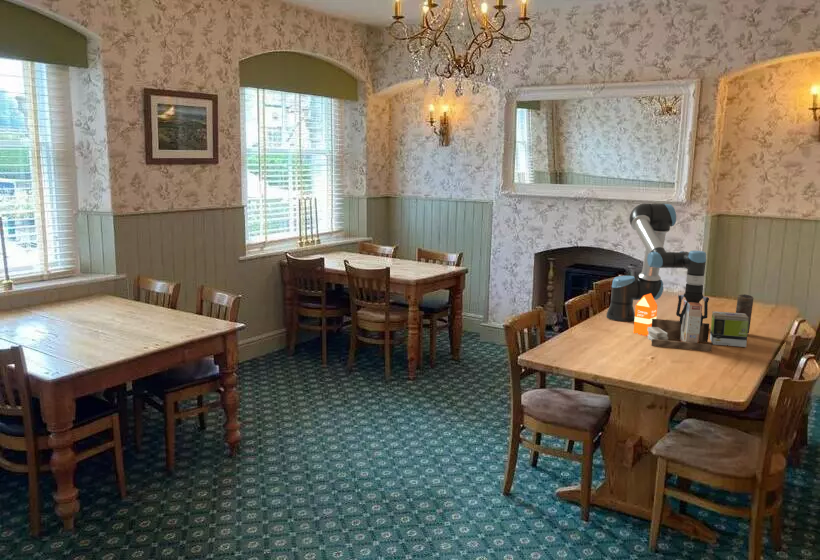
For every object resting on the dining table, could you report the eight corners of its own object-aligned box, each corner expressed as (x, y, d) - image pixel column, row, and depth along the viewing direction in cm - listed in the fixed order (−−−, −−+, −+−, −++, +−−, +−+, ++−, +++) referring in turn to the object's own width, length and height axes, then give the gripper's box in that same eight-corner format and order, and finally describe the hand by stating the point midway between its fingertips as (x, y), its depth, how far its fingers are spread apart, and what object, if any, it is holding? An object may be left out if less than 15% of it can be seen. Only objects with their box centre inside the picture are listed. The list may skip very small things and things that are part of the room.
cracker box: (698, 348, 313) (703, 305, 309) (685, 348, 314) (689, 304, 311) (692, 341, 327) (696, 299, 323) (679, 340, 328) (683, 298, 324)
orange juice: (655, 332, 341) (658, 294, 338) (647, 336, 335) (651, 296, 331) (640, 330, 346) (643, 292, 343) (632, 333, 340) (636, 294, 337)
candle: (749, 333, 344) (753, 295, 340) (749, 336, 337) (754, 297, 334) (732, 331, 347) (736, 293, 344) (732, 334, 341) (737, 296, 337)
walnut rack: (651, 345, 317) (653, 327, 315) (650, 336, 334) (652, 318, 333) (711, 351, 309) (713, 332, 308) (707, 341, 327) (709, 323, 325)
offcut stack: (655, 345, 319) (657, 333, 318) (646, 338, 331) (647, 326, 330) (668, 345, 319) (669, 333, 318) (657, 338, 331) (659, 326, 330)
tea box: (742, 342, 326) (746, 312, 324) (746, 348, 317) (749, 317, 314) (709, 339, 331) (712, 310, 328) (711, 344, 321) (714, 314, 319)
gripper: (673, 283, 315) (668, 331, 319) (717, 286, 309) (712, 335, 313) (672, 280, 322) (668, 327, 326) (716, 284, 316) (711, 331, 320)
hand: (690, 331), depth 319 cm, fingers closed on cracker box, 6 cm apart
